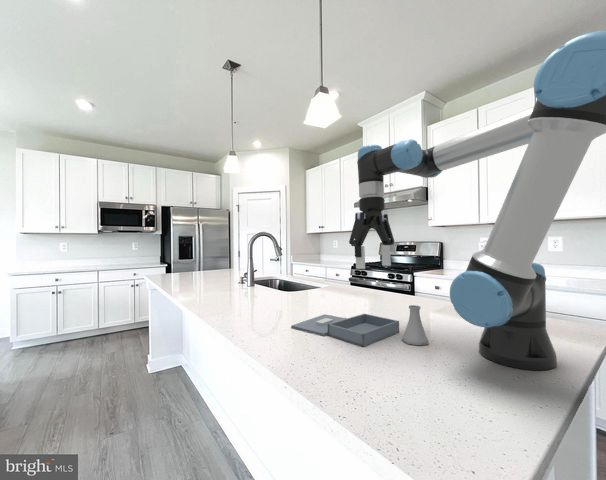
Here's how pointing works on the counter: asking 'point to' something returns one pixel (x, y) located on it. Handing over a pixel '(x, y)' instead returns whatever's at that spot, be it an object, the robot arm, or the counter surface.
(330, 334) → the bin
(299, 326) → the bin lid
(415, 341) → the flask
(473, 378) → the counter surface
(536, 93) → the robot arm
